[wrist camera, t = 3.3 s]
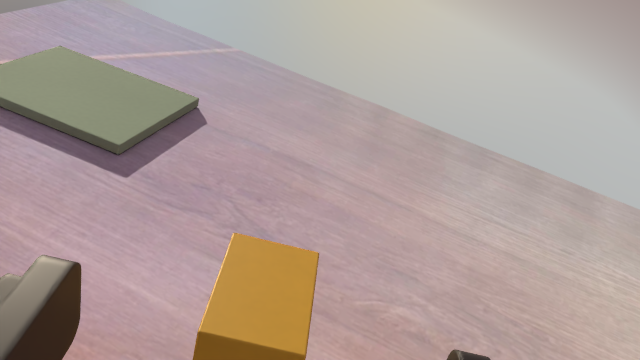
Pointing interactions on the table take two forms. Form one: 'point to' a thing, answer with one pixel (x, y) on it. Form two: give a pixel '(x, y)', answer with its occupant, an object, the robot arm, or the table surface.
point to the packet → (259, 303)
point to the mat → (89, 98)
